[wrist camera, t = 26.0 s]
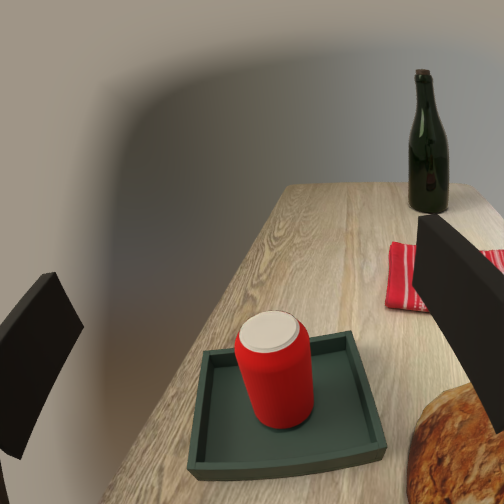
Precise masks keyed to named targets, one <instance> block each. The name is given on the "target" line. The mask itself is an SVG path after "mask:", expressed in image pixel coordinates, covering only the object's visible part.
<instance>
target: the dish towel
mask: <svg viewBox="0 0 504 504" xmlns="http://www.w3.org/2000/svg"><path fill="white" fill-rule="evenodd" d="M480 252H481V253H482V254H483V255H484V256H485V257H486V258H488V259H489V260H490V261H491V262H492V263H493V264H494V265H495V266H496V267H497V268H498V269H499V270H500V271H501V272H502V273H503V274H504V250H489V251H484V250H482V251H480ZM415 253H416V245H407V244H401V243H398V242H392V245H390V250H389V267H390V268H389V277H388V286H387V293H386V300H385V306H387V307H388V308H401V309H405V310H406V309H407V310H414V311H415V310H416V311H424V312H429V310H428V309H427V307H426V306H425V304H424V303H423V301H422V300H421V298H420V297H419V295H418V294H417V292H416V291H415V289H414V288H413V286H412V279H413V271H414V262H415Z"/></svg>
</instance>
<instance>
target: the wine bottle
mask: <svg viewBox="0 0 504 504" xmlns="http://www.w3.org/2000/svg"><path fill="white" fill-rule="evenodd" d="M414 79H415V84H416V96H417V105H416V113H415V117H414V121H413V124H412V128H411V131H410V136H409V183H408V202H409V205H410V206H411V207H412V208H414V209H415V210H418V211H421V212H426V213H438V212H442V211H444V210H446V209H447V207H448V200H449V148H448V147H449V146H448V140H447V135H446V133H445V130H444V127H443V125H442V122H441V120H440V117H439V114H438V111H437V107H436V102H435V96H434V88H433V78H432V76H431V75H430V71H429V70H425V69H418V70H416V75H415V77H414Z"/></svg>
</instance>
